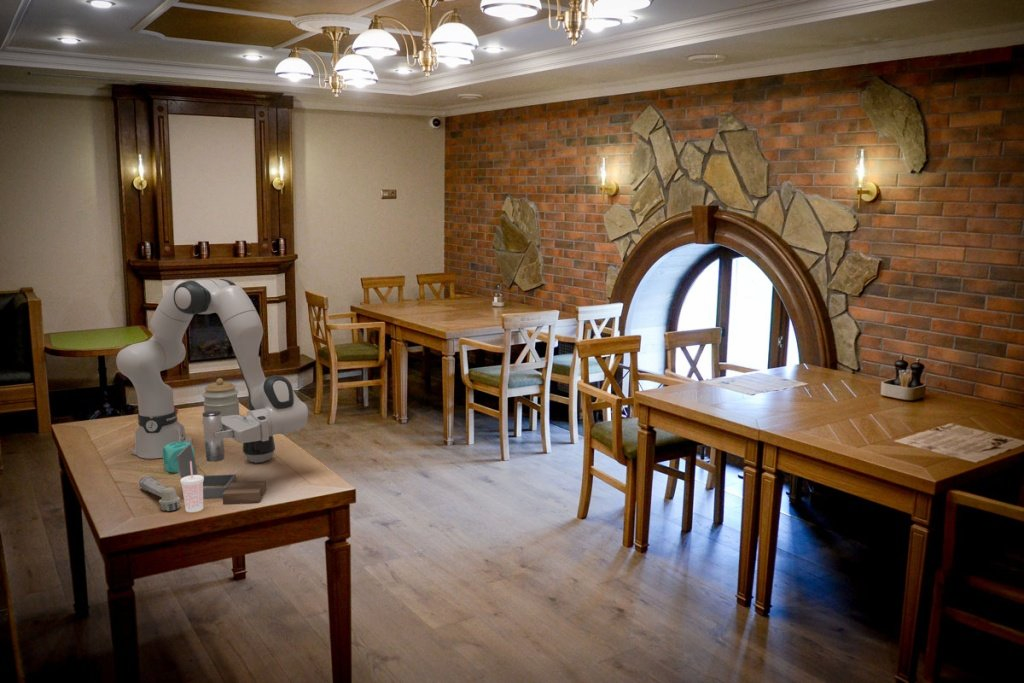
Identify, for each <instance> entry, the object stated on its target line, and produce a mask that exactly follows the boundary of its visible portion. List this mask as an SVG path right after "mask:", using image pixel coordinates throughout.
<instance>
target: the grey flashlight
mask: <svg viewBox="0 0 1024 683" xmlns="http://www.w3.org/2000/svg"><path fill="white" fill-rule="evenodd" d="M138 484H139V487H140V488H141V489H142V491H144V492H146V491H148V492H147V493H151V494H153V495H156V496H158V497H160V498H161V499H159V500H158V503H159V505H160V510H161V511H162V510H163V512H164V511H166V512H170V511H171V512H172V511H175V510H178V509H180V501H181V497H179V496H178V494H177V491H176V489H175V487H173V486H172V487H171V486H170V487H166V486H165V485H164V484H162V483H160V482H159V481H158V480H157V478H155V477H154V476H144V477H142V478H140V480H139V481H138Z"/></svg>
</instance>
